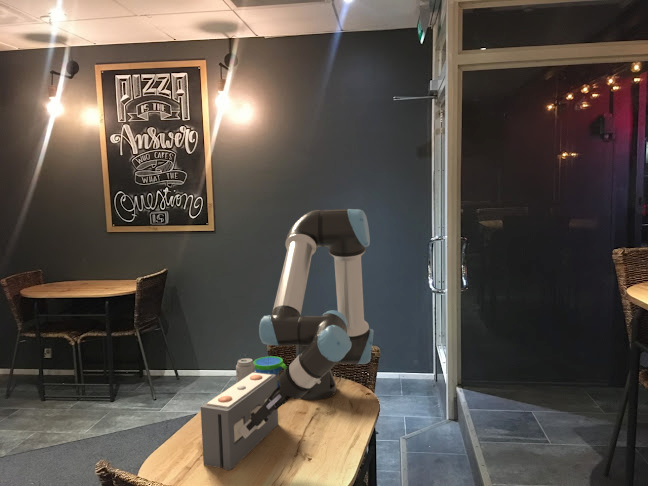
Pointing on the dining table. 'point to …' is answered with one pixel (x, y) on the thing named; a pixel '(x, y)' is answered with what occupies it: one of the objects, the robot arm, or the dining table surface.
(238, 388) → the pattern card
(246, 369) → the energy drink can
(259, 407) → the button middle
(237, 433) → the button edge side
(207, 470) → the dining table surface
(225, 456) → the console
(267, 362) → the snack cup
